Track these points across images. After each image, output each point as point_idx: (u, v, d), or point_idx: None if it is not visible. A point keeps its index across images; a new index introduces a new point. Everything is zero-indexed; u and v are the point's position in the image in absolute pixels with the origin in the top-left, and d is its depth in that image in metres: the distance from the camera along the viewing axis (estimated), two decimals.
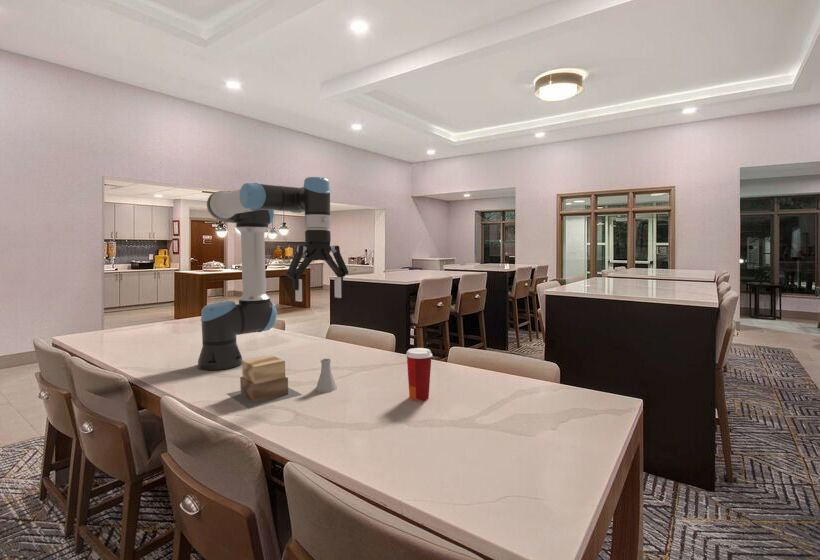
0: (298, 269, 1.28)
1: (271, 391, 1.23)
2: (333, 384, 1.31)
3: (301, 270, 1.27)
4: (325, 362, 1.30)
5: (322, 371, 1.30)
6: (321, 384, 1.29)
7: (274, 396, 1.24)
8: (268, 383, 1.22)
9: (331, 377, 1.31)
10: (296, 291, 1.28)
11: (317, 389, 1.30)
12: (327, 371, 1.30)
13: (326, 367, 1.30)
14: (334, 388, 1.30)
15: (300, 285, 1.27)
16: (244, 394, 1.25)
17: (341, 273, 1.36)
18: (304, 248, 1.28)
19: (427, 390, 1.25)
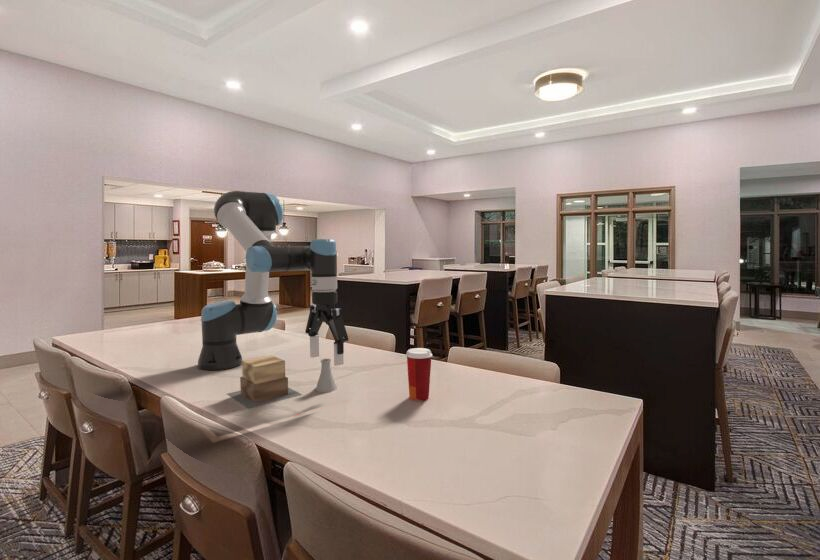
0: None
1: (271, 391, 1.23)
2: (333, 384, 1.31)
3: (311, 328, 1.34)
4: (325, 362, 1.30)
5: (322, 371, 1.30)
6: (321, 384, 1.29)
7: (274, 396, 1.24)
8: (268, 383, 1.22)
9: (331, 377, 1.31)
10: None
11: (317, 389, 1.30)
12: (327, 371, 1.30)
13: (326, 367, 1.30)
14: (334, 388, 1.30)
15: (310, 342, 1.35)
16: (244, 394, 1.25)
17: (335, 339, 1.24)
18: (315, 308, 1.33)
19: (427, 390, 1.25)
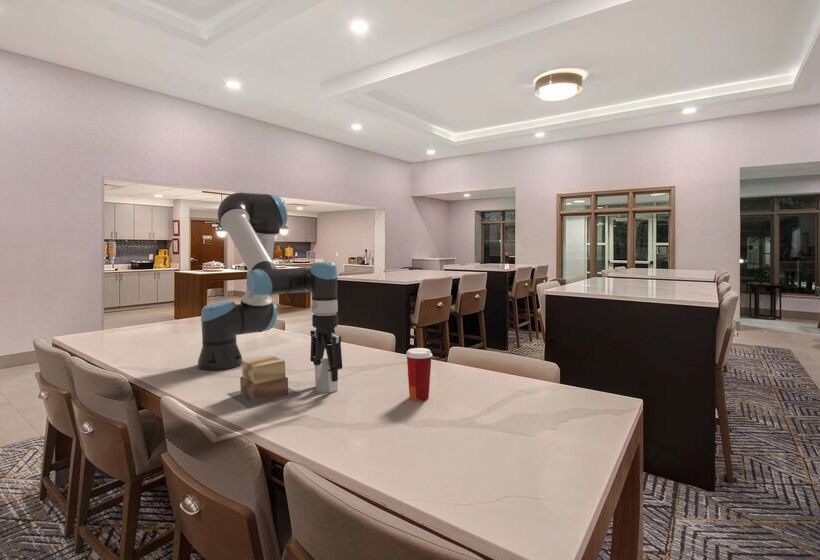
0: None
1: (271, 391, 1.23)
2: None
3: (315, 355, 1.33)
4: (325, 362, 1.30)
5: (322, 371, 1.30)
6: (321, 384, 1.29)
7: (274, 396, 1.24)
8: (268, 383, 1.22)
9: None
10: None
11: (317, 389, 1.30)
12: (327, 371, 1.30)
13: (327, 366, 1.30)
14: None
15: (315, 371, 1.33)
16: (244, 394, 1.25)
17: (330, 367, 1.27)
18: (315, 332, 1.34)
19: (427, 390, 1.25)
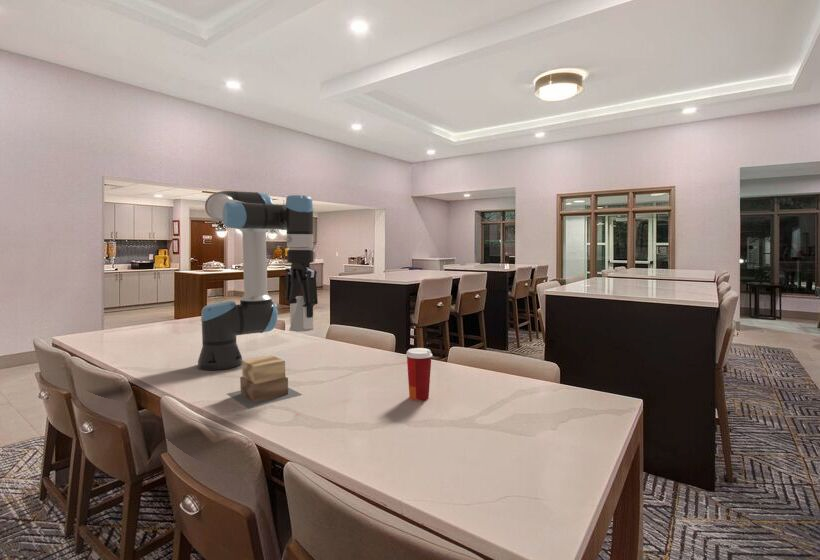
0: None
1: (271, 391, 1.23)
2: None
3: (290, 293, 1.30)
4: (300, 298, 1.27)
5: (297, 308, 1.27)
6: (296, 321, 1.26)
7: (274, 396, 1.24)
8: (268, 383, 1.22)
9: None
10: None
11: (292, 326, 1.26)
12: (302, 308, 1.27)
13: (302, 303, 1.27)
14: None
15: (290, 309, 1.30)
16: (244, 394, 1.25)
17: (305, 302, 1.24)
18: (290, 269, 1.30)
19: (427, 390, 1.25)
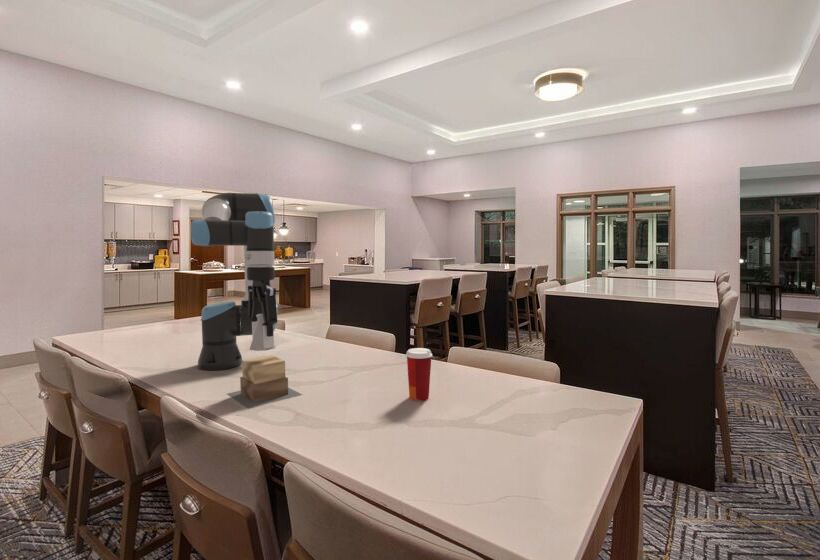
0: None
1: (271, 391, 1.23)
2: None
3: (252, 311, 1.27)
4: (261, 317, 1.24)
5: (258, 326, 1.24)
6: (256, 340, 1.23)
7: (274, 396, 1.24)
8: (268, 383, 1.22)
9: None
10: None
11: (252, 345, 1.23)
12: None
13: (262, 322, 1.24)
14: None
15: (252, 327, 1.27)
16: (244, 394, 1.25)
17: (265, 321, 1.21)
18: (252, 287, 1.28)
19: (427, 390, 1.25)
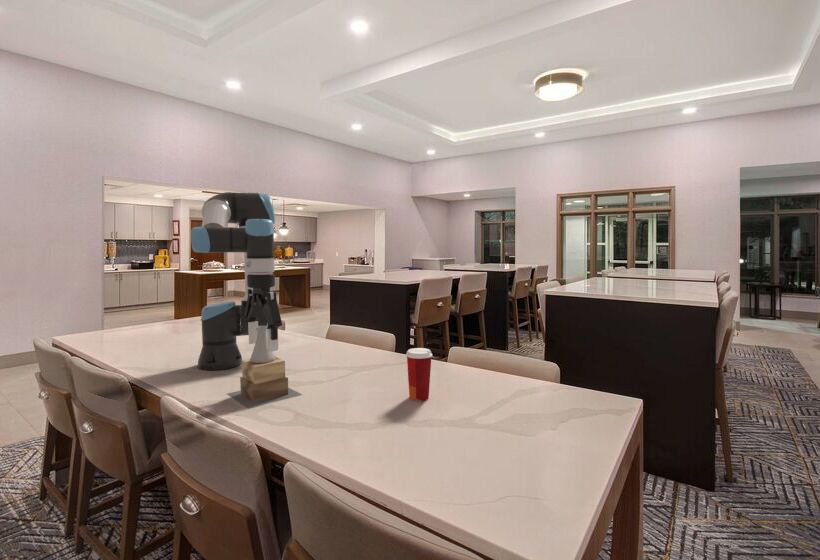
0: None
1: (271, 391, 1.23)
2: (269, 352, 1.25)
3: (249, 313, 1.29)
4: (261, 329, 1.24)
5: (258, 338, 1.24)
6: (256, 352, 1.24)
7: (274, 396, 1.24)
8: (268, 383, 1.22)
9: (267, 345, 1.25)
10: None
11: (252, 357, 1.24)
12: (263, 338, 1.24)
13: (262, 334, 1.24)
14: (270, 356, 1.25)
15: (248, 328, 1.29)
16: (244, 394, 1.25)
17: (269, 324, 1.19)
18: (252, 292, 1.28)
19: (427, 390, 1.25)
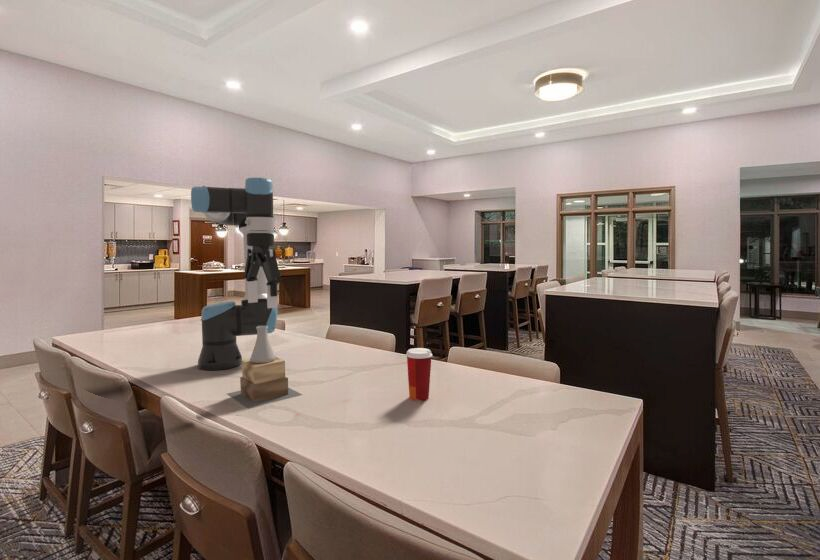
0: None
1: (271, 391, 1.23)
2: (269, 352, 1.25)
3: (248, 272, 1.31)
4: (261, 329, 1.24)
5: (258, 338, 1.24)
6: (256, 352, 1.24)
7: (274, 396, 1.24)
8: (268, 383, 1.22)
9: (267, 345, 1.25)
10: None
11: (252, 357, 1.24)
12: (263, 338, 1.24)
13: (262, 334, 1.24)
14: (270, 356, 1.25)
15: (248, 287, 1.31)
16: (244, 394, 1.25)
17: (268, 281, 1.20)
18: None
19: (427, 390, 1.25)
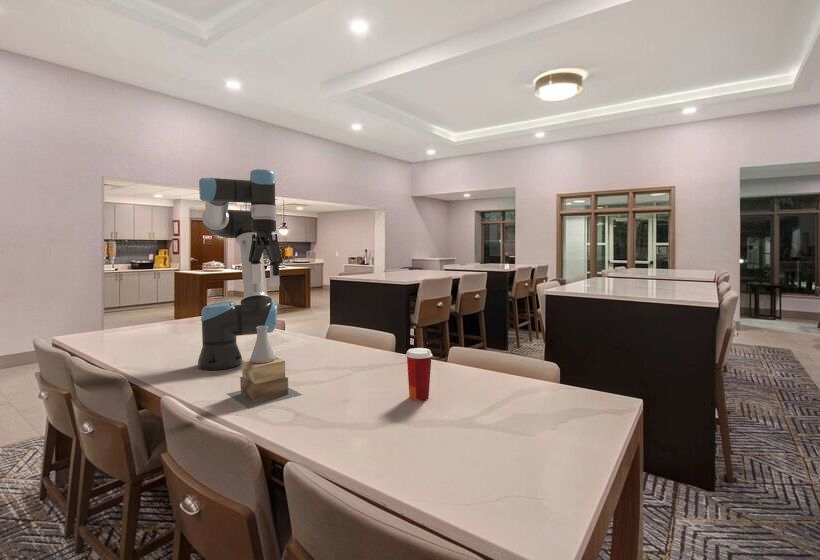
0: None
1: (271, 391, 1.23)
2: (269, 352, 1.25)
3: (253, 256, 1.44)
4: (261, 329, 1.24)
5: (258, 338, 1.24)
6: (256, 352, 1.24)
7: (274, 396, 1.24)
8: (268, 383, 1.22)
9: (267, 345, 1.25)
10: None
11: (252, 357, 1.24)
12: (263, 338, 1.24)
13: (262, 334, 1.24)
14: (270, 356, 1.25)
15: (252, 269, 1.45)
16: (244, 394, 1.25)
17: (271, 261, 1.34)
18: (256, 237, 1.43)
19: (427, 390, 1.25)
